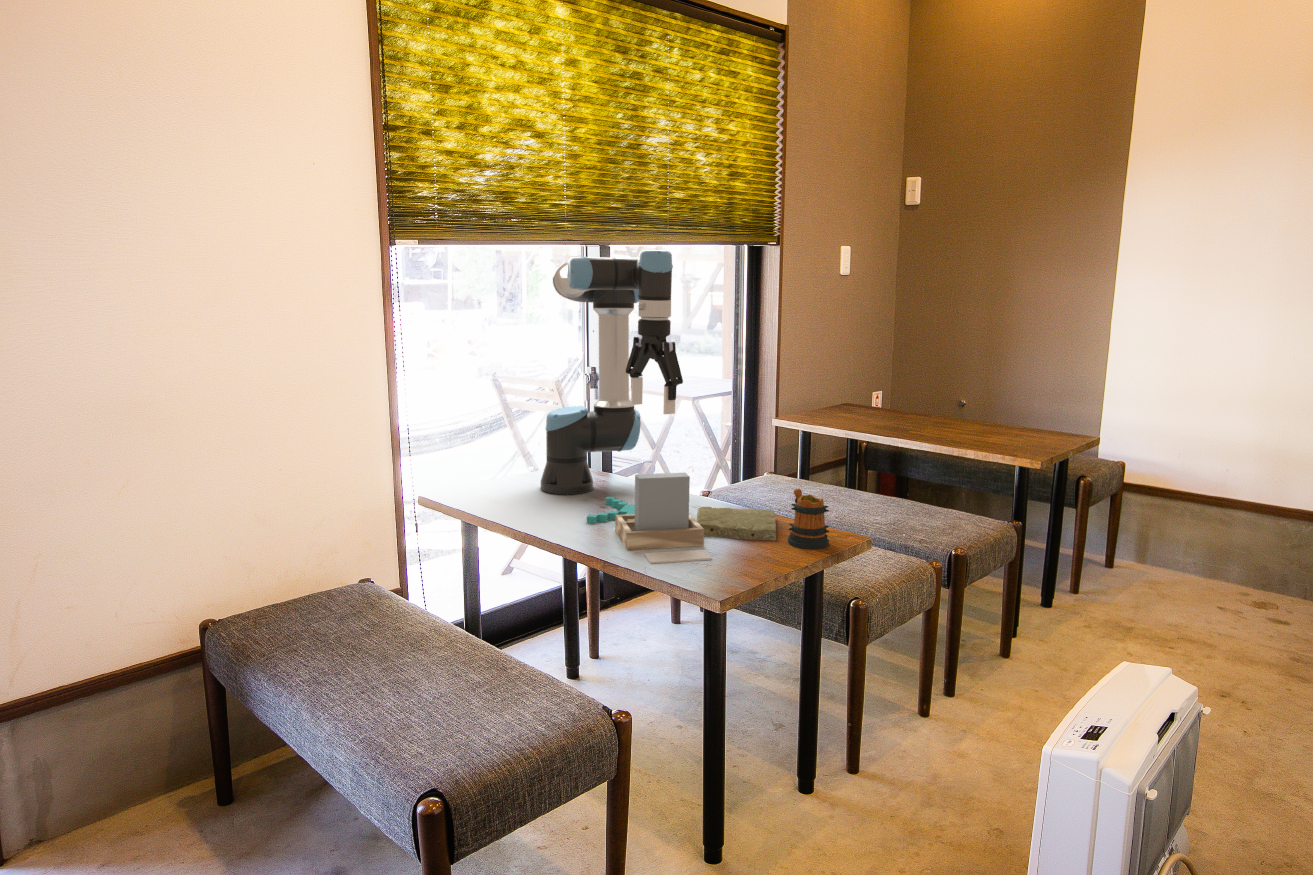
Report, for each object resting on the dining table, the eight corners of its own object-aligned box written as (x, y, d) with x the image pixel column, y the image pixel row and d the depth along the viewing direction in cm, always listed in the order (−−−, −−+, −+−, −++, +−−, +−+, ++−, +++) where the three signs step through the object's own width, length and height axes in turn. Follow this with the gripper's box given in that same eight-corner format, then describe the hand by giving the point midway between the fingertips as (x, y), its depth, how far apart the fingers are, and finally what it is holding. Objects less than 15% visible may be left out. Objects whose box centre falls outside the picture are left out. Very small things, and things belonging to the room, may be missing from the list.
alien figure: (586, 524, 220) (664, 531, 216) (586, 516, 220) (665, 522, 215) (607, 504, 239) (679, 509, 235) (607, 496, 239) (680, 501, 235)
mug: (837, 547, 203) (840, 499, 201) (797, 550, 201) (800, 501, 198) (812, 532, 216) (815, 486, 214) (774, 534, 213) (776, 488, 211)
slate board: (634, 540, 206) (635, 474, 203) (683, 537, 209) (685, 472, 206) (638, 545, 203) (638, 478, 200) (688, 542, 205) (689, 476, 202)
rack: (615, 530, 214) (615, 514, 213) (686, 526, 218) (686, 511, 217) (627, 550, 199) (627, 533, 199) (703, 545, 204) (704, 528, 203)
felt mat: (644, 554, 196) (644, 553, 196) (704, 551, 200) (704, 549, 199) (650, 563, 191) (650, 561, 190) (712, 559, 194) (712, 558, 194)
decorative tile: (697, 517, 228) (697, 504, 227) (775, 520, 226) (775, 507, 225) (692, 539, 210) (693, 525, 209) (777, 543, 208) (777, 528, 207)
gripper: (612, 314, 210) (611, 401, 215) (672, 323, 190) (670, 419, 195) (638, 313, 215) (636, 399, 219) (700, 322, 195) (697, 416, 199)
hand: (652, 409), depth 207 cm, fingers open, 13 cm apart
